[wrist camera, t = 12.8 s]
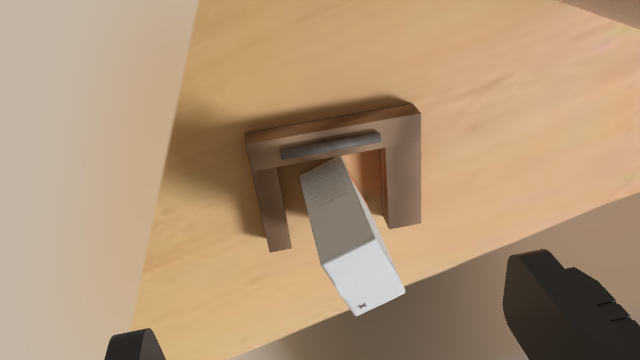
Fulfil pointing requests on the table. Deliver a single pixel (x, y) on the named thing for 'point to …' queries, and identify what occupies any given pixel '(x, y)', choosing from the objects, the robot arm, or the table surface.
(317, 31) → the table surface
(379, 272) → the skincare box
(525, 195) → the table surface
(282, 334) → the table surface
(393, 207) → the wooden u-shaped block
